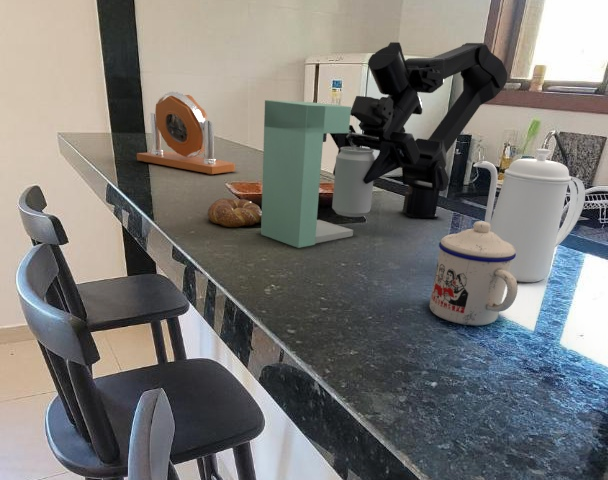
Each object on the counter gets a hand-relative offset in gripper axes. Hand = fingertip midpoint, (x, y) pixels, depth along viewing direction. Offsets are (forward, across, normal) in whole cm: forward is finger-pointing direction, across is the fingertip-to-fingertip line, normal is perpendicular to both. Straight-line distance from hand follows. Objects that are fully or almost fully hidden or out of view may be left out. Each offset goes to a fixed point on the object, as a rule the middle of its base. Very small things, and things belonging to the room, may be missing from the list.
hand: (349, 178), depth 100 cm
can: (+4, 0, +6) cm, 7 cm away
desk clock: (-2, -76, +16) cm, 78 cm away
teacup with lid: (+20, +39, -7) cm, 45 cm away
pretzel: (+18, -15, -4) cm, 24 cm away
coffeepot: (+5, +33, +9) cm, 35 cm away
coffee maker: (+14, 0, 0) cm, 14 cm away
